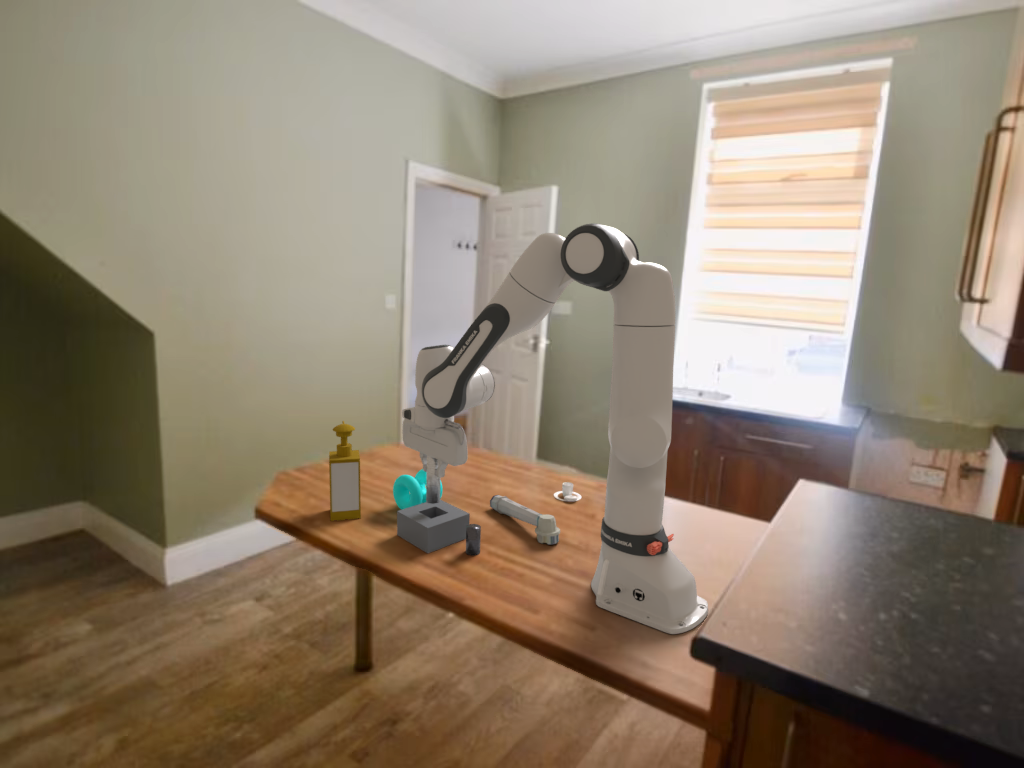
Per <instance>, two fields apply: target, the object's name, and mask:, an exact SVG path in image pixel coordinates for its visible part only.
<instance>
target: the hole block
mask: <svg viewBox="0 0 1024 768" xmlns="http://www.w3.org/2000/svg"><path fill="white" fill-rule="evenodd" d="M470 516H471V515H470V513H469V512H467V511H465V510H463V509H461V508H459V507H457V506H454V505H452V504H451V503H448V502H447V501H444V500H443V499H440V502H439V503H435V504H430V503H427V502H425V503H422V504H419V505H415V506H412V507H409V508H405V509H402V510H401V509H399V510H397V511H396V523H397V524H396V535H397V536H398V537H399V538H402V539H403V540H405V541H406V542H408V543H410V544H412V545H413V546H415V547H416V548H418V549H419V550H421V551H423V552H425V553H426V554H430V553H432V552H435V551H437V550H440V549H443V548H445V547H449V546H451V545H454V544H456V543H459V542H461V541H463V540H466V526H467V525H469V524H470V520H471V518H470Z"/></svg>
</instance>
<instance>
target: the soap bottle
mask: <svg viewBox="0 0 1024 768" xmlns="http://www.w3.org/2000/svg"><path fill="white" fill-rule="evenodd" d="M355 430H356V427H354V426H353V425H351V424H348V423H345V421H344V420H342V423H341V424H338V425H336V426H334V427H333V428H332V431H333V432H334V433H335V436H336V437H337V438H340V443H338V444H336V451H334V450H332V451H329V454H328V457H329V458H328V459H329V460H328V465H329V471H328V473H329V506H330V507H329V508H330V509H329V512H330V515H329V516H330V522H335V521H334V520H337V521H346V520H345V519H348V520H357V519H358V518H359V519H361V518H362V516H361V515H362V513H361V456H360V451H359V449H355V450H354V449H353V448H352V447H353V446H352V444H351V443H349V442H348V437H352V436H353V432H354V431H355ZM352 449H353V450H352Z"/></svg>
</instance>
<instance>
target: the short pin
mask: <svg viewBox="0 0 1024 768" xmlns="http://www.w3.org/2000/svg"><path fill="white" fill-rule="evenodd" d="M481 527H482V526H481V525H480V524H477V523H469V525H467V526H466V539H465V554H466V555H468V556H473V557H474V556H478V555H480V553H481V537H482V535H481V531H482V529H481Z"/></svg>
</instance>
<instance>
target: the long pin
mask: <svg viewBox="0 0 1024 768" xmlns="http://www.w3.org/2000/svg"><path fill="white" fill-rule="evenodd" d="M438 466H439V464H438V459H435V458H433V457H431V456H428V455H427V479H426V485H425V487H426V502H427V503H430V504H435V503H439V502H440V500H441V499H440V480H441V478H439V477H436V476H435V469H437V468H438Z"/></svg>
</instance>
